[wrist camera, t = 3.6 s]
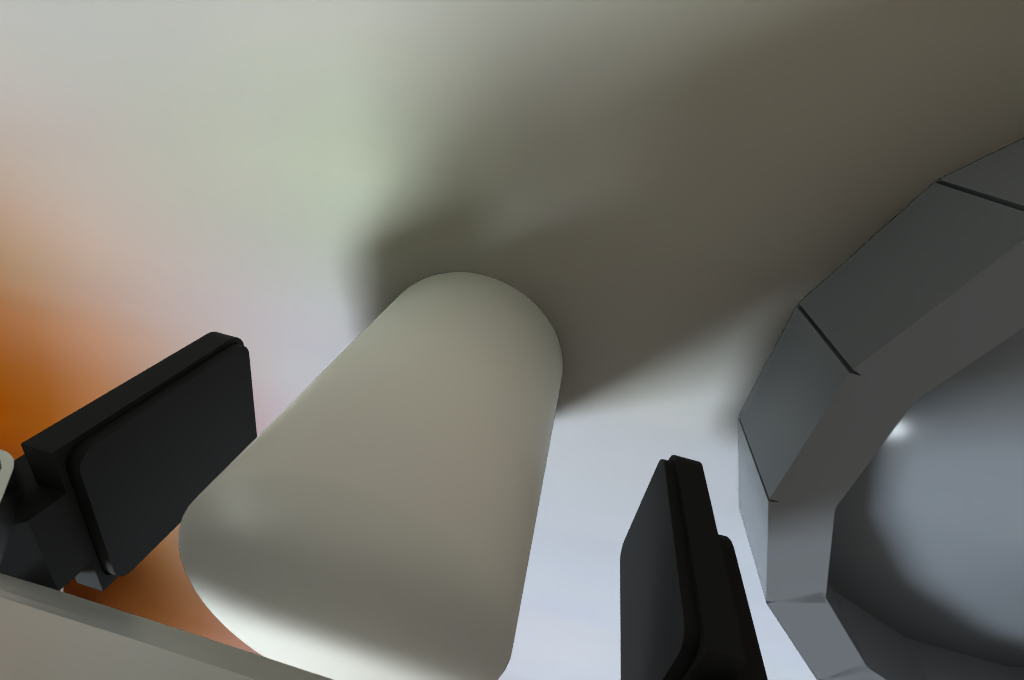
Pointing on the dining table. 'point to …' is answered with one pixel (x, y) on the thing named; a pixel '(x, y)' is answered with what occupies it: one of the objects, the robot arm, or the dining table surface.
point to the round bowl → (901, 446)
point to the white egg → (392, 495)
